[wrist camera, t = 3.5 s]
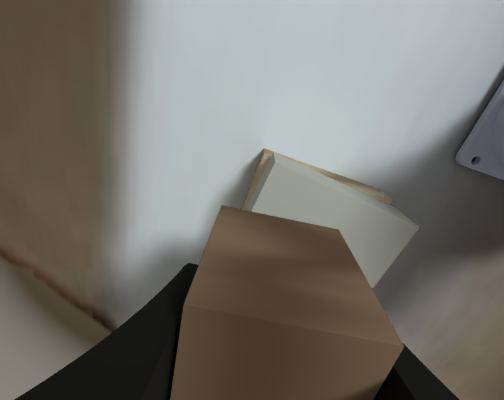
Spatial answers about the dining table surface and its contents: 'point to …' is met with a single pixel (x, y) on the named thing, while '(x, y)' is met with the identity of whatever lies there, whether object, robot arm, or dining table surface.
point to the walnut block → (280, 317)
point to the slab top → (335, 212)
